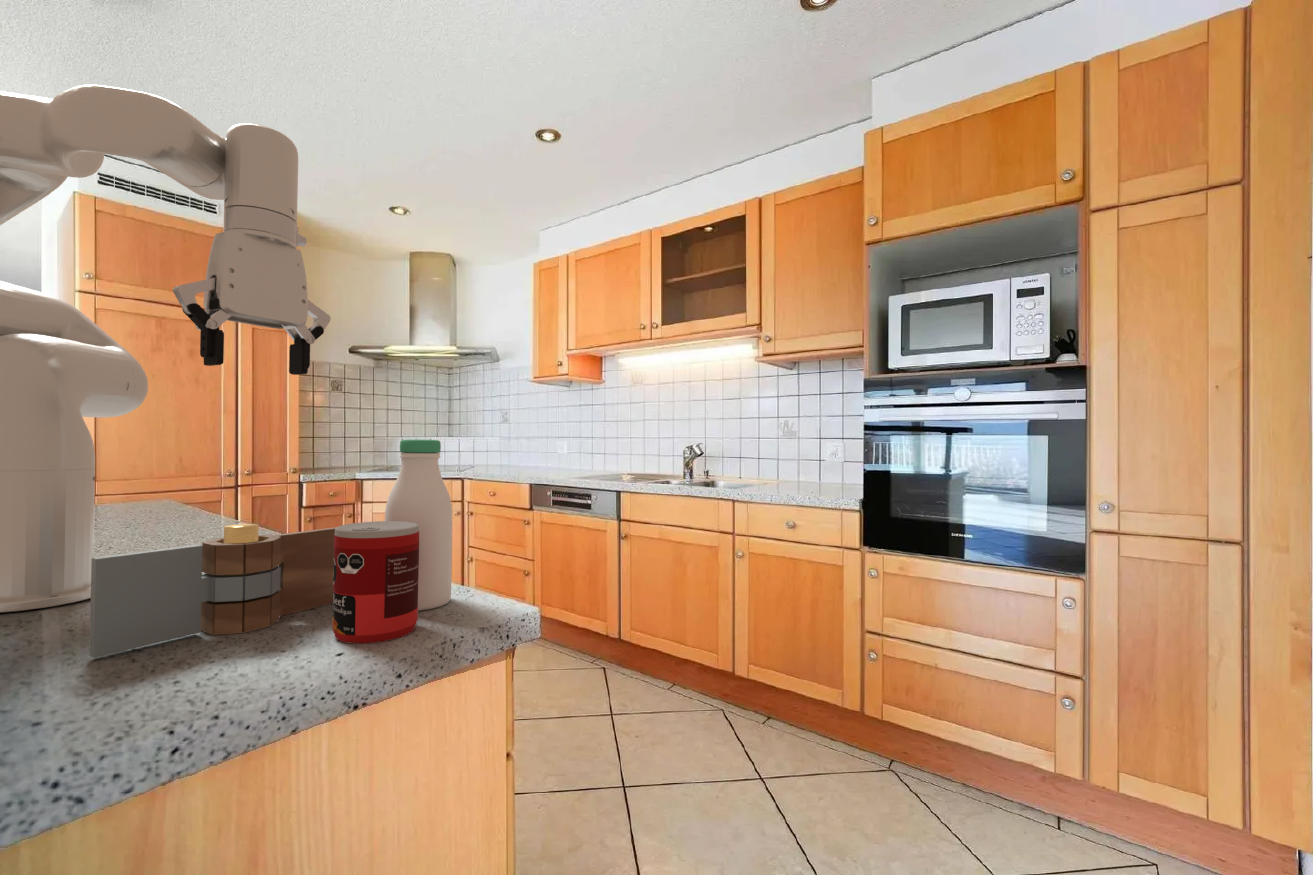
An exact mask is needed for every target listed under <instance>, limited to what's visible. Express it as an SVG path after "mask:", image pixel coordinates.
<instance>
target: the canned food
mask: <svg viewBox="0 0 1313 875" xmlns="http://www.w3.org/2000/svg"><path fill="white" fill-rule="evenodd" d="M418 577H419V525H418V524H416V523H412V522H403V521H385V520H383V521H381V520H379V521H376V520H375V521H364V522H363V521H362V522H353V523H347V524H342V525H339V526H336V528H335V534H334V561H333V604H332V627H331V628H332V631H333V632H332V633H333V635H334V637H335V639H337V640H338V641H340V642H343V643H346V644H347V643H349V644H375V643H383V642H389V641H393V640H396V639H399V638H402V637H405V636H407V635H409V634H410V633H412V632H413V631H414V630H415V629H416V626H417V622H418V618H419V617H418V612H419V611H418Z"/></svg>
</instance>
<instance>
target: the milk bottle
mask: <svg viewBox="0 0 1313 875" xmlns="http://www.w3.org/2000/svg"><path fill="white" fill-rule="evenodd" d="M441 443H442V442H441V441H440V440H439V439H418V438H416V439H412V438H411V439H401V440H400V442H399V452H400V455H399V458H401V466H400V469H399V473H398V475H397V478H396V481H395V483H394V484H393V486H392V488H391V490H390V492H389V495H388V497H387V501H386V503H385V504H386V505H385V510H384V521H403V522H412V523H416V524H418V525H419V577H418V612H419V611H426V610H432V609H437V608H439V607H442V606H445V605H447V604H448V603H449V602H450V599H451V597H452V573H453V572H452V570H453V569H452V568H453V567H452V566H453V508H452V501H451V496H450V494H449V493H450V492H449V491H448V490H449V489H448V488H447V486H446V484H445V482H444V480H443V476H442V474H441V470H440V466H439V458H441V449H442V448H441V446H442V445H441Z"/></svg>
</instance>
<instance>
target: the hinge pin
mask: <svg viewBox="0 0 1313 875" xmlns="http://www.w3.org/2000/svg"><path fill="white" fill-rule="evenodd" d="M259 526H260V525H259V524H256V523H239V524H230V525H225V526H223V537H224V544H226V543H248V542H256V541H258V535H259ZM253 573H258V572H253ZM247 574H252V573H247ZM233 575H246V574H245V573H244V574H233ZM223 576H230V575H223ZM254 599H255V598H254ZM249 600H251V599H249ZM243 601H246V600H243ZM225 602H235V601H225Z"/></svg>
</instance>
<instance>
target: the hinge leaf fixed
mask: <svg viewBox="0 0 1313 875" xmlns="http://www.w3.org/2000/svg"><path fill="white" fill-rule="evenodd" d="M336 527H337V526H336ZM336 527H335V526H334V527H327V528H321V529H320V528H319V529H311V530H305V531H296V532H289V533H281V534H279V533H278V534H273V535H272V534H258V541H256V542H248V543H226V544H224V536H222V537H217V538H212V539H209V540H206V541H205V540H204V541H203V542H202V544H201V545H202V574H204V573H207V574H211V575H233V574H244V573H245V574H247V573H253V572H259V571H265V570H271V569H273V568H275V567H277V566H280V567H281V574H280V589H279V590H278V591H276V592H275V593H273V594H271V595H268V596H263V597H258V598H255V599H251V600H246V601H235V602H211V601H206V602H201V631H202V632H203V633H205V634H209V635H211V636H212V635H214V636H216V635H217V636H218V635H233V634H242V633H249V632H252V631H256V630H261V629H265V628H268V627H270V626H273V625H274V624H275V623H277V622H278V621H279V620H281V619H280V617H282V616H287V615H291V614H294V613H299V612H303V611H307V610H311V609H315V608H320V607H323V606H328V605H333V561H334V534H335V528H336Z"/></svg>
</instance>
